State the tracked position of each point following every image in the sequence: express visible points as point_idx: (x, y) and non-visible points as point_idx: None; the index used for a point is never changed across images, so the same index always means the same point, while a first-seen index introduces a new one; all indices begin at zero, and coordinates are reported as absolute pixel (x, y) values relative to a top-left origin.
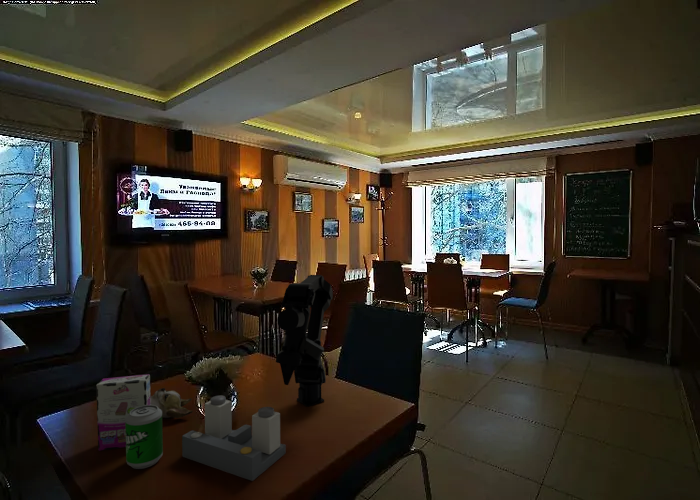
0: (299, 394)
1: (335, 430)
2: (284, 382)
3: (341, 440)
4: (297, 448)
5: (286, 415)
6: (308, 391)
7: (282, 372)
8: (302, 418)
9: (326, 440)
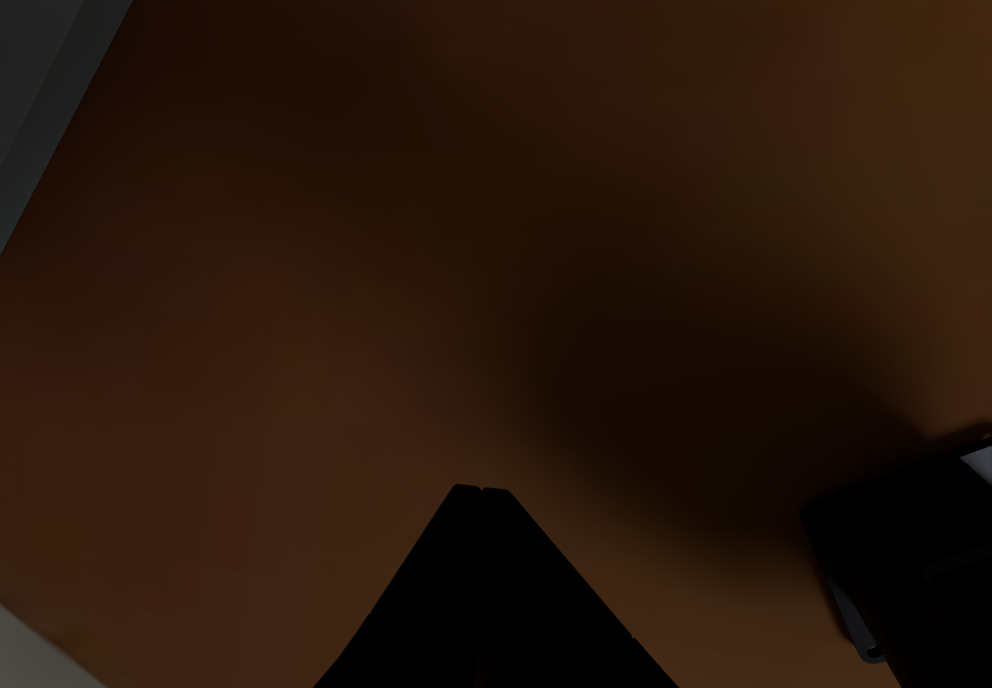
0: (960, 501)
1: (319, 630)
2: (440, 506)
3: (175, 637)
4: (71, 348)
5: (680, 304)
6: (906, 613)
7: (366, 627)
8: (574, 438)
9: (180, 552)
